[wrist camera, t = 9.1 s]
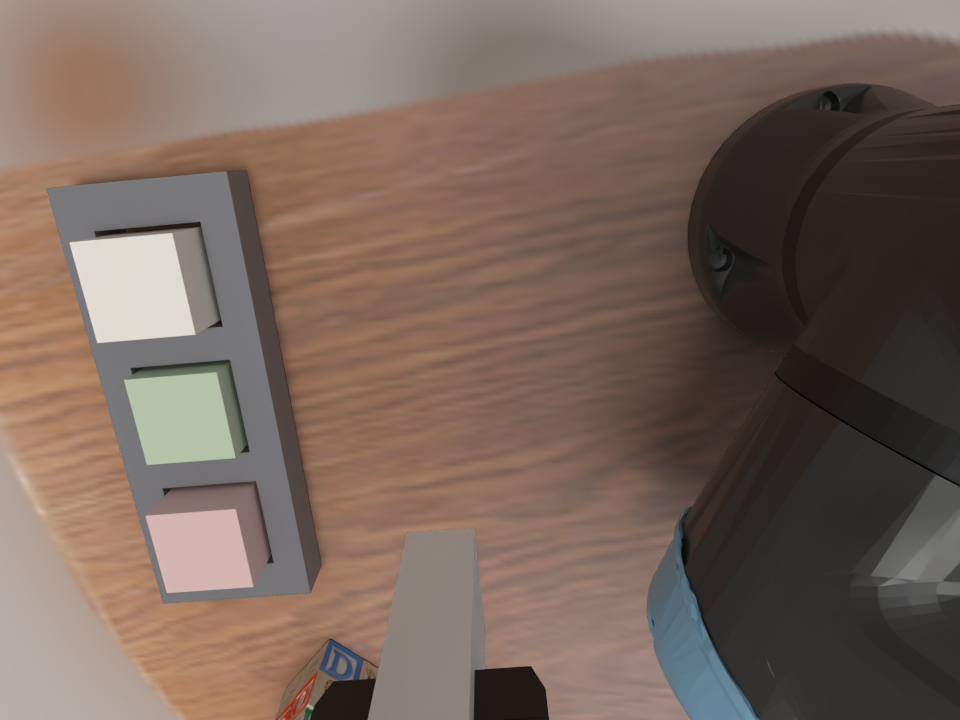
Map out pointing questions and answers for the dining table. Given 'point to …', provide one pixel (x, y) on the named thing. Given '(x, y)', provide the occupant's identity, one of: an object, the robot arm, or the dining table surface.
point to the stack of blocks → (322, 679)
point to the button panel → (235, 338)
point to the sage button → (187, 412)
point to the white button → (147, 284)
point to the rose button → (210, 537)
